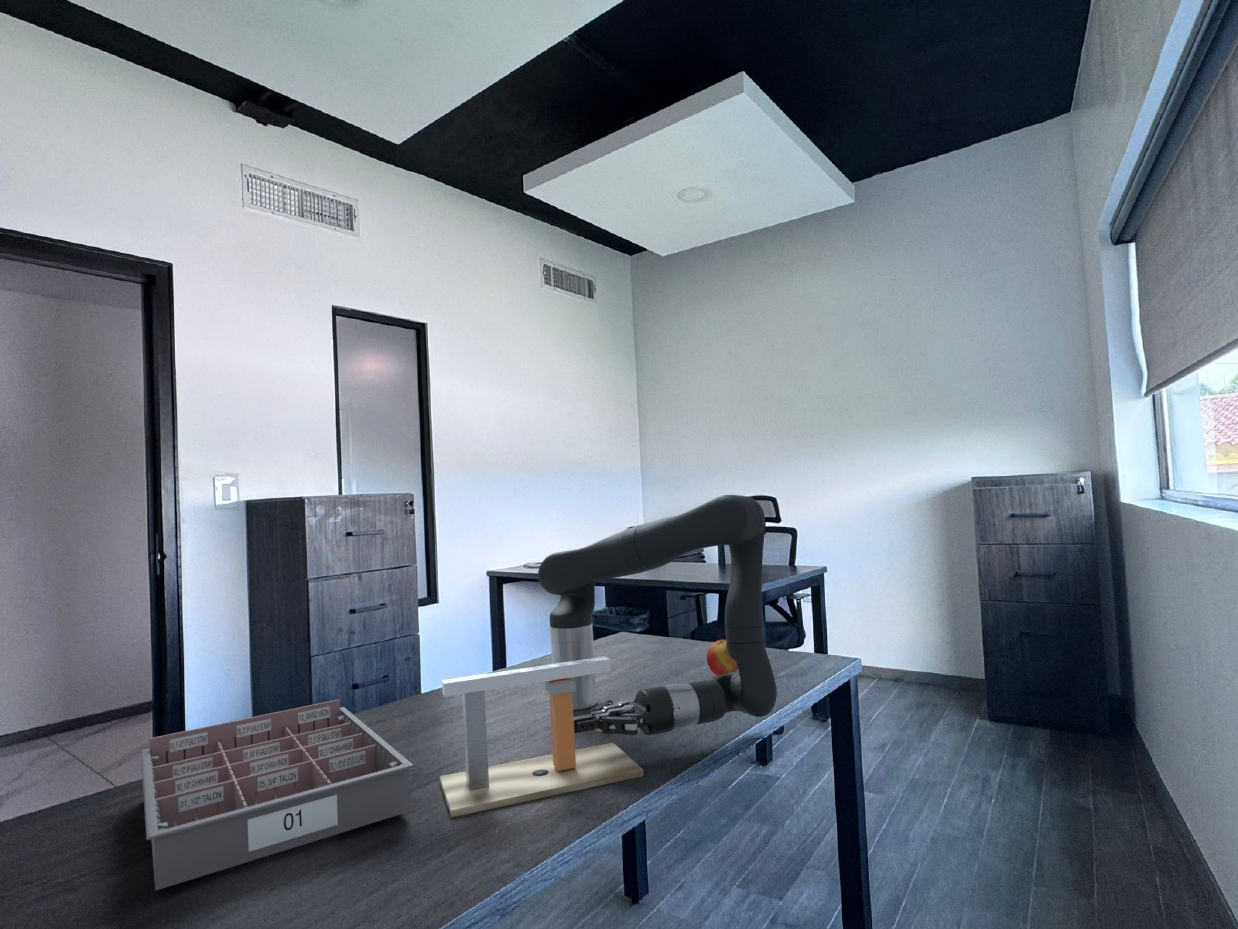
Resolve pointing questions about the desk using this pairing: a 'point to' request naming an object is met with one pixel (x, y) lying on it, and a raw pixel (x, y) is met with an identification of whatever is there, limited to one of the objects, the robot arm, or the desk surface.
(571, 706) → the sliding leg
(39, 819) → the desk surface
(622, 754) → the board
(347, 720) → the organizer tray
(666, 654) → the desk surface
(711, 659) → the apple
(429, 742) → the desk surface
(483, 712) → the bar
